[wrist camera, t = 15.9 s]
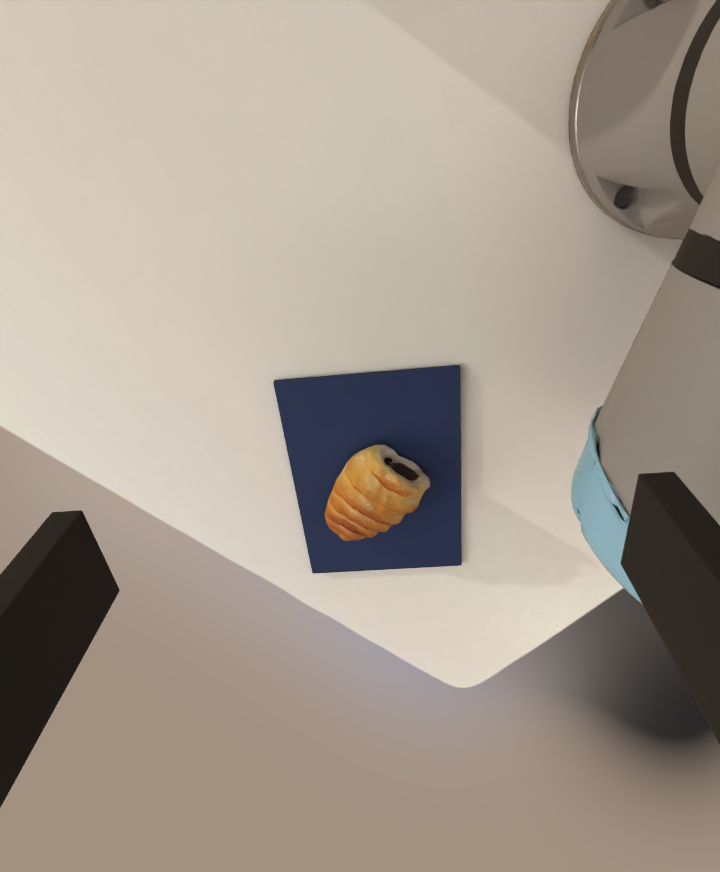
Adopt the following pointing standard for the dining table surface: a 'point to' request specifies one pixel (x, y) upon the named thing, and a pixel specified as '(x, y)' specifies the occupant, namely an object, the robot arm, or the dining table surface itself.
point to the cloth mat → (367, 426)
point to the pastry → (374, 493)
